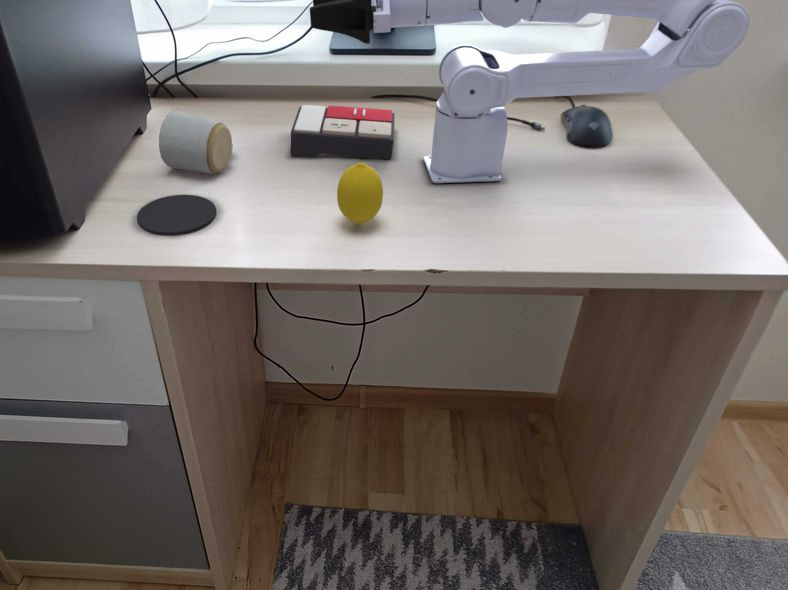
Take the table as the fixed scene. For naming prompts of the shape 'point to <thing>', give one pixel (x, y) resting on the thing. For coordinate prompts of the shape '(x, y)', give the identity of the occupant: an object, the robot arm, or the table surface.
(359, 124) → the switch panel
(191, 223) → the felt coaster
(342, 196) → the lemon
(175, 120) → the ceramic mug
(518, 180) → the table surface
